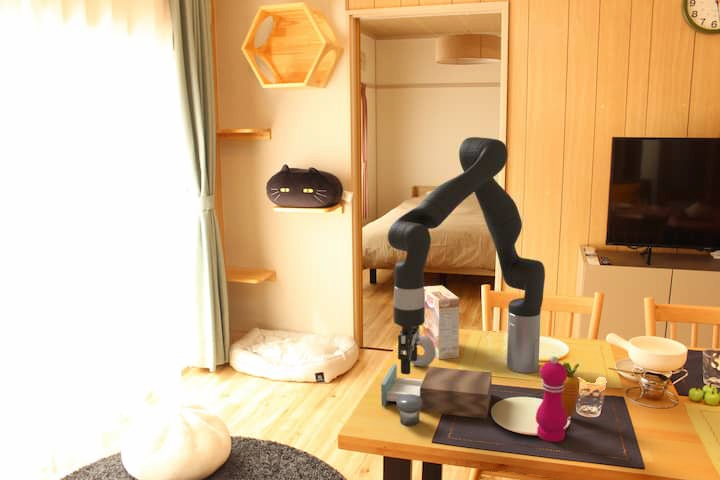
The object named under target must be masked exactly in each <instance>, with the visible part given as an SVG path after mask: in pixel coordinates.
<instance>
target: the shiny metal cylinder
mask: <svg viewBox="0 0 720 480" xmlns="http://www.w3.org/2000/svg"><path fill="white" fill-rule="evenodd" d="M399 422H400V424H401V425H403V426H406V427H415V426H418V425H419V424H420V411H418V412H413V413H407V412H402V411H400V410H399Z"/></svg>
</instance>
